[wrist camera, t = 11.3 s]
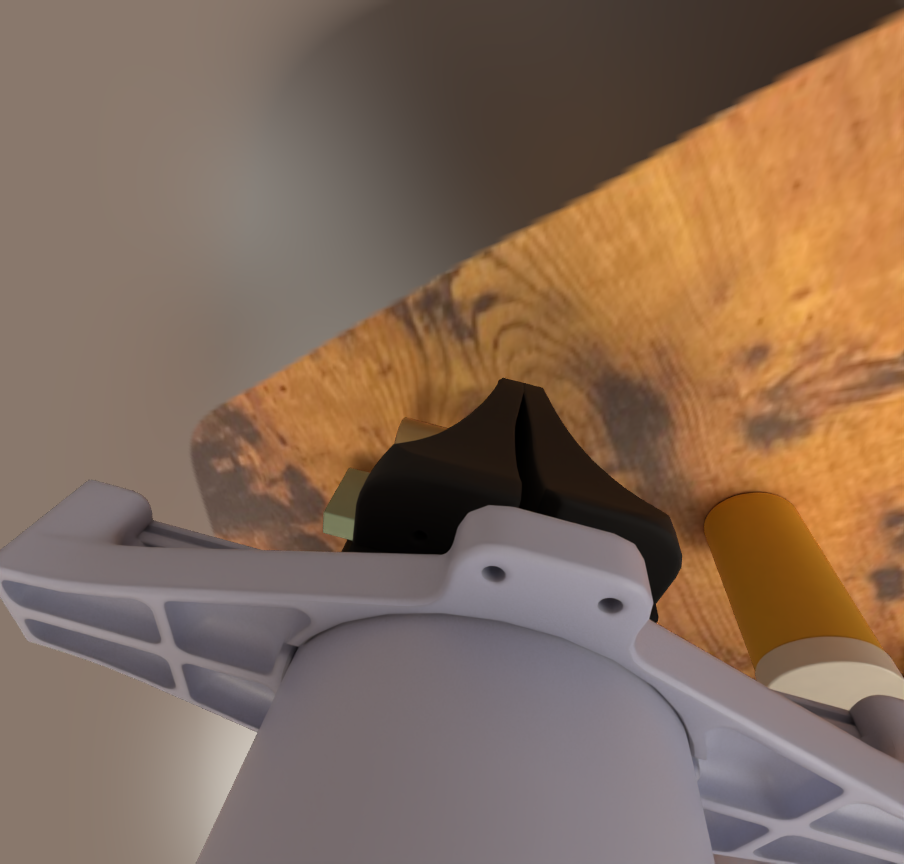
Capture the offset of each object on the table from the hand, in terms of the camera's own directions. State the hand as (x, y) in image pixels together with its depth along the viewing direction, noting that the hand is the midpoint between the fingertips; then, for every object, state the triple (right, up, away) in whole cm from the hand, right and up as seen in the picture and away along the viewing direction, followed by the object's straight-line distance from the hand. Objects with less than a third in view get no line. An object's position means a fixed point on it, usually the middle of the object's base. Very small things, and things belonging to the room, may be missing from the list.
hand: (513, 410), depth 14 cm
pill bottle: (+10, -4, +5) cm, 12 cm away
